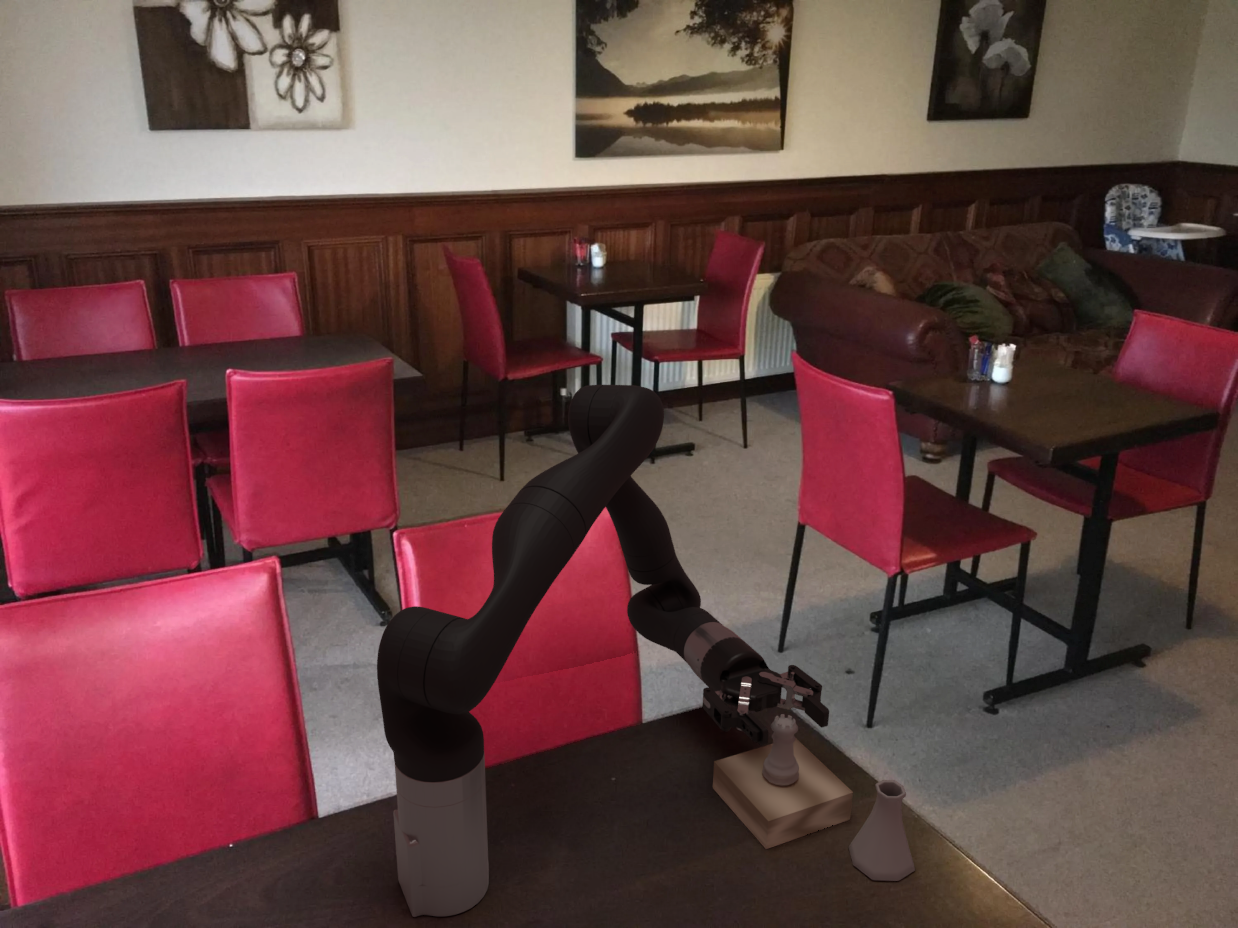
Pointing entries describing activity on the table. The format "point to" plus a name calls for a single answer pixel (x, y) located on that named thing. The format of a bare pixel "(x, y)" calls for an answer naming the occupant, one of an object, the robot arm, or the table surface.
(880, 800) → the flask
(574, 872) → the table surface
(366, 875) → the table surface
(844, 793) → the maple plinth
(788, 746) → the rook chess piece
